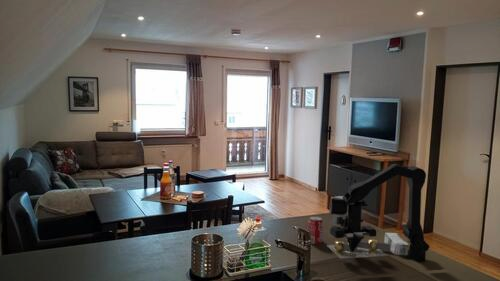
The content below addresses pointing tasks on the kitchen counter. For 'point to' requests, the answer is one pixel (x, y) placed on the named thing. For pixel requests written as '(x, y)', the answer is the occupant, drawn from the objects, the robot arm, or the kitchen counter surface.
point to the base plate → (358, 253)
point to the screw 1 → (342, 247)
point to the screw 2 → (378, 245)
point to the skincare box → (334, 221)
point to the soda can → (315, 229)
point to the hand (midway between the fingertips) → (352, 251)
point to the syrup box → (396, 244)
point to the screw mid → (363, 245)
